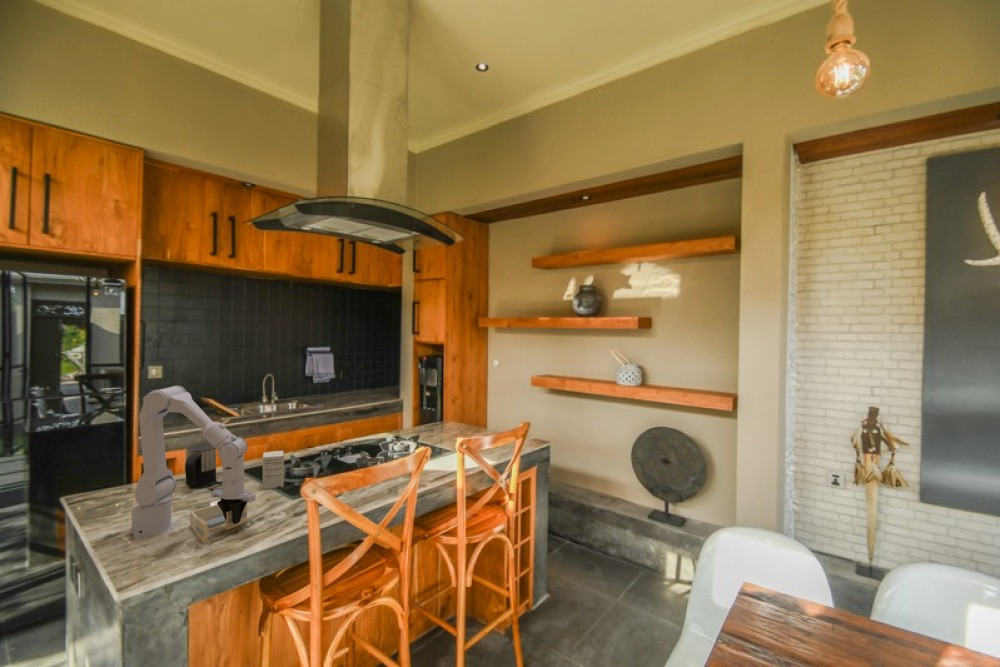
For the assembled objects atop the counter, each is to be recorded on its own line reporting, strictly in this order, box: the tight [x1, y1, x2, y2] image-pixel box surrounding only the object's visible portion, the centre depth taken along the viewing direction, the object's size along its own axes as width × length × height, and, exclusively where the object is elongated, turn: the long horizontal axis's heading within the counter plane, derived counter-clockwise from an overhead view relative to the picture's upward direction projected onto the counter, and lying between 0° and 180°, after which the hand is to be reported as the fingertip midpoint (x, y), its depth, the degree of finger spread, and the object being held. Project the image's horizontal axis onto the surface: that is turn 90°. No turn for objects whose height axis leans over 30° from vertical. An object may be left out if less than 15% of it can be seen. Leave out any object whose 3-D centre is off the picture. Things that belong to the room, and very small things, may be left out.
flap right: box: [225, 503, 248, 531], centre depth 138 cm, size 7×1×6 cm, turn 156°
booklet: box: [205, 515, 226, 528], centre depth 139 cm, size 6×4×1 cm
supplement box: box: [262, 450, 285, 491], centre depth 172 cm, size 7×7×13 cm
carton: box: [189, 504, 226, 533], centre depth 139 cm, size 13×8×5 cm, turn 138°
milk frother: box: [184, 443, 222, 489], centre depth 171 cm, size 14×16×15 cm
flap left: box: [195, 517, 209, 544], centre depth 129 cm, size 7×1×6 cm, turn 51°
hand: (233, 522), depth 136 cm, fingers closed
